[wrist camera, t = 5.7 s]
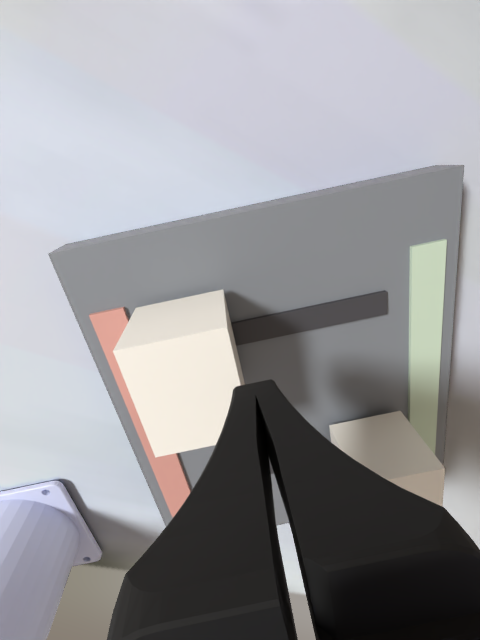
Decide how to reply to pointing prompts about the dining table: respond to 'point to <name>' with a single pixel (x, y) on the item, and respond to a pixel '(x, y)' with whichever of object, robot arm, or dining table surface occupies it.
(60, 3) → the dining table surface
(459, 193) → the switch panel
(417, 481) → the switch
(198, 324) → the switch
